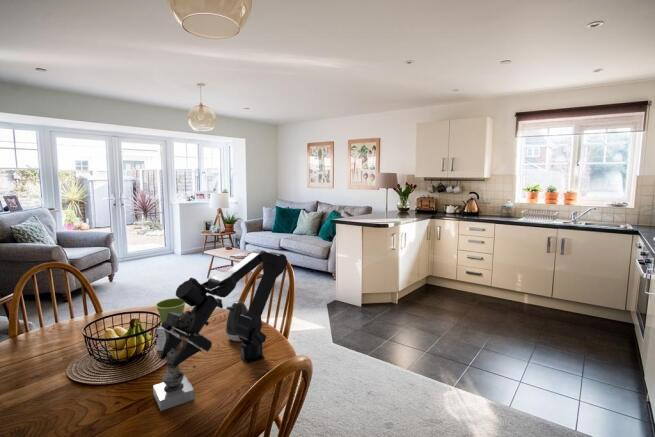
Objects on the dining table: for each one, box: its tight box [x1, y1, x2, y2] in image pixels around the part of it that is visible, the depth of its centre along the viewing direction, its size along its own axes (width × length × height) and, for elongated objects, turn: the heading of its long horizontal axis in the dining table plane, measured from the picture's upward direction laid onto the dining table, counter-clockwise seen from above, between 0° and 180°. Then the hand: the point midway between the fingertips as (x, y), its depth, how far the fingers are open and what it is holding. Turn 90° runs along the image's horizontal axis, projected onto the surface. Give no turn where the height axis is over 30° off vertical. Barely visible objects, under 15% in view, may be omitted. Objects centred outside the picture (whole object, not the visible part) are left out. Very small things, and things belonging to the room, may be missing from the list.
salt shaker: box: [161, 348, 185, 393], centre depth 104 cm, size 6×6×12 cm
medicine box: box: [156, 325, 181, 352], centre depth 135 cm, size 8×4×9 cm, turn 168°
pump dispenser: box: [224, 300, 249, 342], centre depth 142 cm, size 10×10×15 cm
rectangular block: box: [152, 375, 195, 412], centre depth 104 cm, size 9×9×3 cm
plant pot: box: [155, 297, 186, 325], centre depth 151 cm, size 12×12×11 cm
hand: (167, 362), depth 102 cm, fingers open, 6 cm apart
